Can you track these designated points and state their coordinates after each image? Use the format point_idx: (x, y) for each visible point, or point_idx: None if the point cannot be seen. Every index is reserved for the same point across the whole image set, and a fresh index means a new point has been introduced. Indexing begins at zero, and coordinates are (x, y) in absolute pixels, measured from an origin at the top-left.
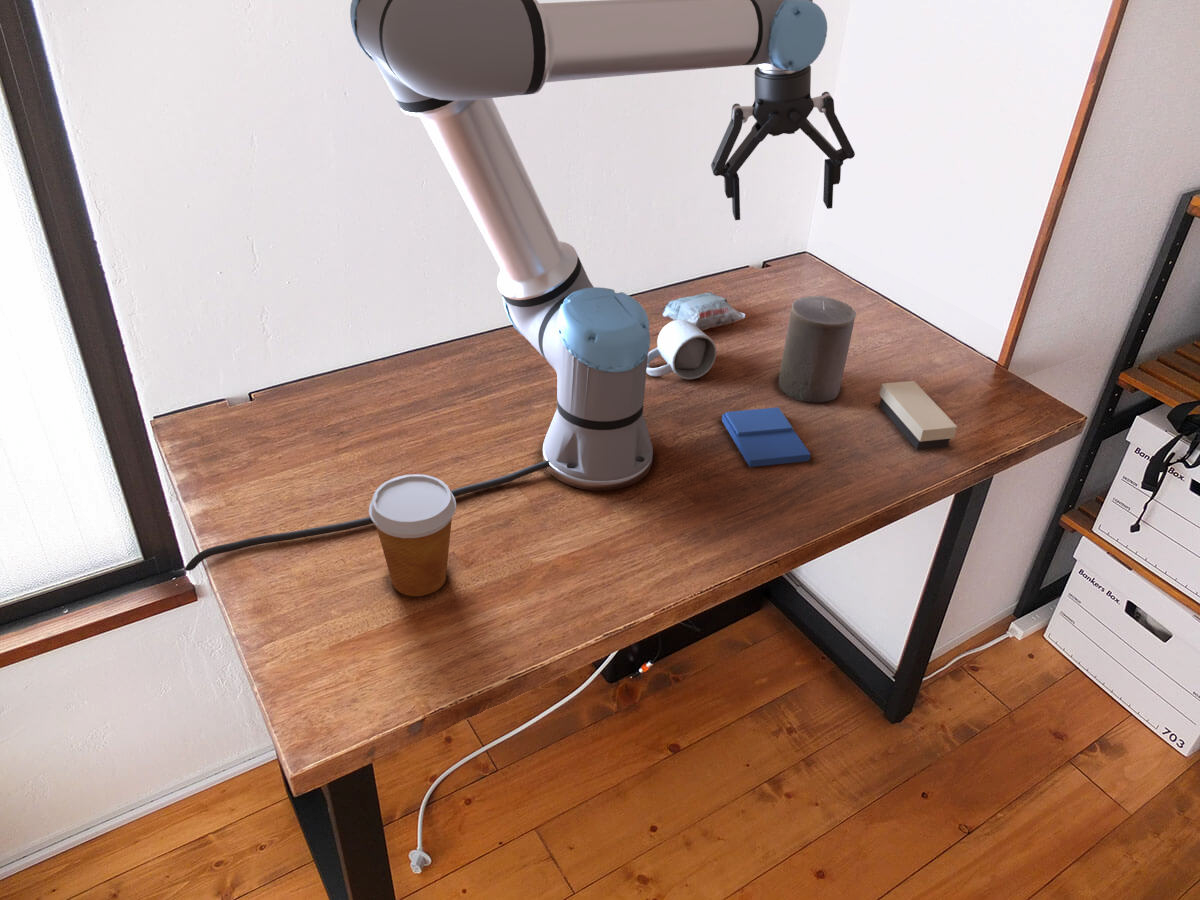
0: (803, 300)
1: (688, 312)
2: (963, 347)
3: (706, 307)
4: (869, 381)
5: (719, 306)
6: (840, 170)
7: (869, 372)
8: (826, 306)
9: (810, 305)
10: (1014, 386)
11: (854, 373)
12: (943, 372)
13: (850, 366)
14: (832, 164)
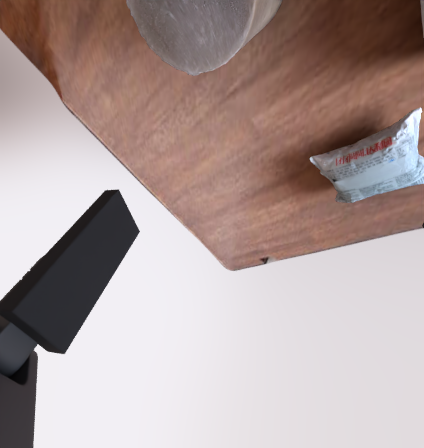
0: (228, 38)
1: (408, 149)
2: (95, 131)
3: (374, 158)
4: None
5: (349, 164)
6: (10, 291)
7: None
8: (181, 13)
9: (214, 8)
10: (34, 54)
11: None
12: (96, 73)
13: None
14: (9, 321)
